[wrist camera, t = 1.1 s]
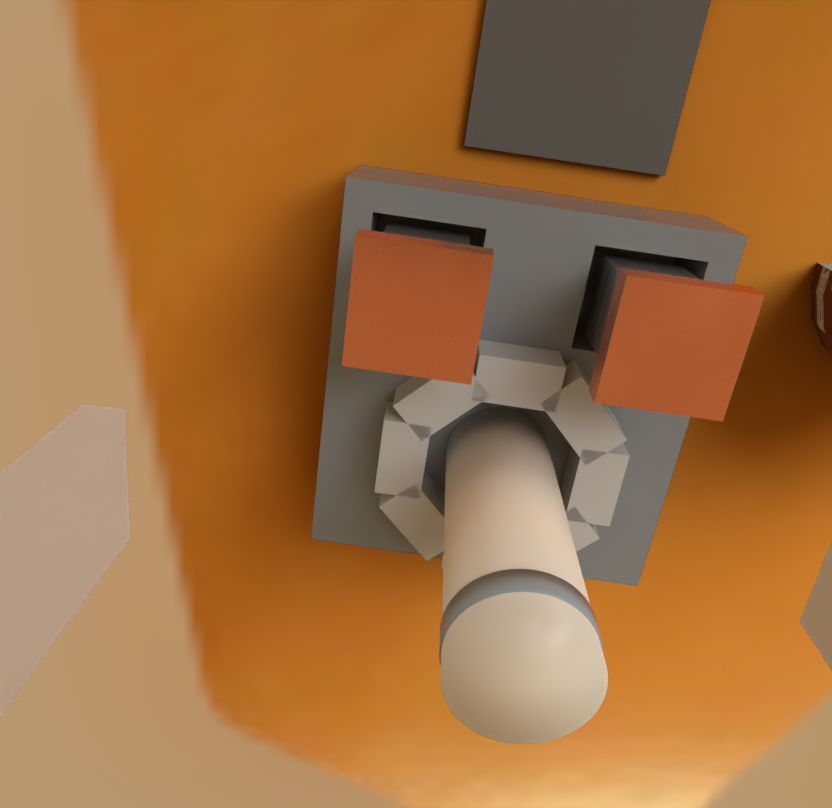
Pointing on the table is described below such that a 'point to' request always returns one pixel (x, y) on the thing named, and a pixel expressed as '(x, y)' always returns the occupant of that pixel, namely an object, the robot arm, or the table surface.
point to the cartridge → (513, 589)
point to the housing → (507, 369)
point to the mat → (585, 79)
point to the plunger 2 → (667, 338)
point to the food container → (822, 303)
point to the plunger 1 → (416, 302)
